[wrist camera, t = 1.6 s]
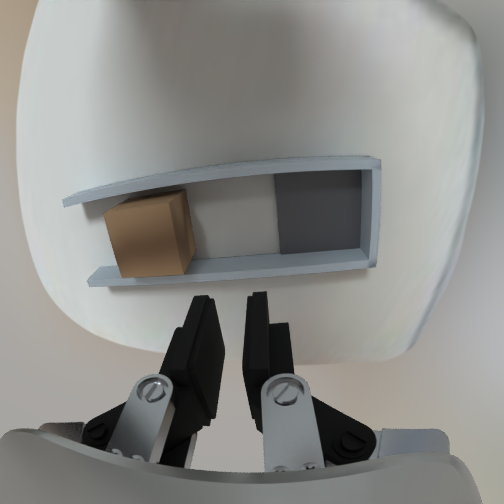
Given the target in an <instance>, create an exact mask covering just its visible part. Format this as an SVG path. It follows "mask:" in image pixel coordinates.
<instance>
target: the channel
mask: <svg viewBox="0 0 504 504" xmlns="http://www.w3.org/2000/svg"><path fill="white" fill-rule="evenodd" d="M273 173H274V176H275V187H276V199H277V212H278V225H279V239H280V253H275V254H263V255H250V256H238V257H225V258H213V259H200V260H191V262H190V264H189V265H188V267H187V269H186V271H185V273H184V275H169V276H152V277H134V278H122V277H121V274H120V271H119V268H118V266H109V267H99V268H98V269H97V270H96V271H95V272H94V273H93V274H92V275H91V276H90V277H89V278H88V280H87V282H88V285H89V287H101V286H129V285H151V284H171V283H189V282H206V281H222V280H236V279H250V278H264V277H276V276H288V275H300V274H311V273H322V272H333V271H343V270H353V269H363V268H372V267H376V263H377V253H378V241H379V227H380V208H381V160H380V159H377V158H373V157H369V156H328V157H303V158H286V159H272V160H260V161H250V162H240V163H231V164H223V165H215V166H207V167H200V168H193V169H187V170H181V171H174V172H169V173H163V174H157V175H152V176H147V177H142V178H137V179H132V180H127V181H123V182H118V183H114V184H109V185H105V186H101V187H97V188H93V189H89V190H85V191H81V192H78V193H76V194H73V195H71V196H69V197H67V198H65V199H62V201H63V205H64V207H68V206H72V205H76V204H80V203H84V202H88V201H93V200H97V199H102V198H106V197H111V196H116V195H121V194H126V193H131V192H136V191H142V190H147V189H153V188H159V187H165V186H171V185H178V184H184V183H191V182H199V181H206V180H214V179H222V178H231V177H240V176H250V175H261V174H273Z"/></svg>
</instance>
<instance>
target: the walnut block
mask: <svg viewBox="0 0 504 504" xmlns="http://www.w3.org/2000/svg"><path fill="white" fill-rule="evenodd" d="M103 214H104V218H105V222H106V226H107V230H108V233H109V237H110V241H111V244H112V248H113V251H114V255H115V258H116V261H117V264H118V268H119V271H120V274H121V277H122V278H134V277H152V276H169V275H184V273H185V271H186V269H187V267H188V265H189V264H190V262H191V260H192V258H193V256H194V254H195V252H196V245H195V240H194V235H193V230H192V224H191V219H190V213H189V207H188V201H187V196H186V189H185V190H178V191H172V192H165V193H159V194H153V195H147V196H141V197H135V198H130V199H127V200H125V201H124V202H122V203H120V204H118V205H117V206H115V207H113V208H112V209H110V210H108V211H107V212H105V213H103Z"/></svg>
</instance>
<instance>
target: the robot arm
mask: <svg viewBox="0 0 504 504" xmlns="http://www.w3.org/2000/svg"><path fill="white" fill-rule="evenodd" d="M224 357H225V346H224V342H223V337H222V333H221V329H220V324H219V320H218V315H217V310H216V306H215V301H214V299H213V298H211V299H210V298H209V296H208V295H200V296H194V297H193V300H192V303H191V305H190V308H189V311H188V314H187V316H186V319H185V322H184V325H183V327H178V328H176V330H175V332H174V334H173V337H172V339H171V342H170V345H169V347H168V350H167V353H166V355H165V358H164V361H163V364H162V366H161V369H160V372H159V374H151V375H147V376H145V377H143V378H141V379H140V380H139V381H137V382H136V384H135V385H134V387H133V389H132V392H131V393H130V396H129V398H128V400H127V401H126V402H124V403H123V404H121V405H119V406H117V407H115V408H113V409H111V410H109V411H107V412H105V413H103V414H101V415H99V416H97V417H95V418H93V419H92V420H90V421H89V422H88V423H87V424H85V423H84V422H68V423H45V424H43V425H41V426H40V428H39V429H28V428H26V429H25V428H22V429H14V430H10V431H8V432H7V433H5V434H4V435H3V436H2V438H1V439H0V504H482V500H481V497H480V494H479V491H478V488H477V486H476V483H475V481H474V479H473V477H472V474H471V473H470V471H469V469H468V468H467V466H466V465H465V464H464V462H463V461H462V460H460V459H459V458H458V457H456V456H454V455H450V454H449V439H448V436H447V435H446V434H445V432H443V431H441V430H439V429H385V428H383V429H382V431H374V430H372V429H370V428H369V427H368V426H366V425H364V424H362V423H360V422H359V421H357V420H355V419H353V418H351V417H349V416H347V415H345V414H343V413H342V412H340V411H338V410H336V409H334V408H332V407H331V406H329V405H327V404H325V403H324V402H322V401H320V400H318V399H316V398H315V397H313V396H311V393H310V388H309V386H308V383H307V382H306V381H305V380H304V379H303V378H302V377H300V376H298V375H295V374H294V366H293V357H292V348H291V340H290V331H289V324H288V322H287V323H275V324H270V323H269V311H268V300H267V291H264V292H253V296H248V298H247V310H246V323H245V335H244V348H243V361H242V370H243V377H244V382H245V387H246V391H247V396H248V401H249V406H250V411H251V415H252V419H255V423H256V427H257V430H258V431H260V432H261V433H262V434H263V446H264V465H265V466H264V467H265V472H263V473H241V472H240V473H238V472H216V471H204V470H194V469H190V466H191V462H192V457H193V453H194V449H195V444H196V440H197V432H198V431H199V430H201V429H202V427H203V426H210V421H211V419H215V418H216V412H217V404H218V398H219V391H220V383H221V378H222V371H223V363H224Z"/></svg>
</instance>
